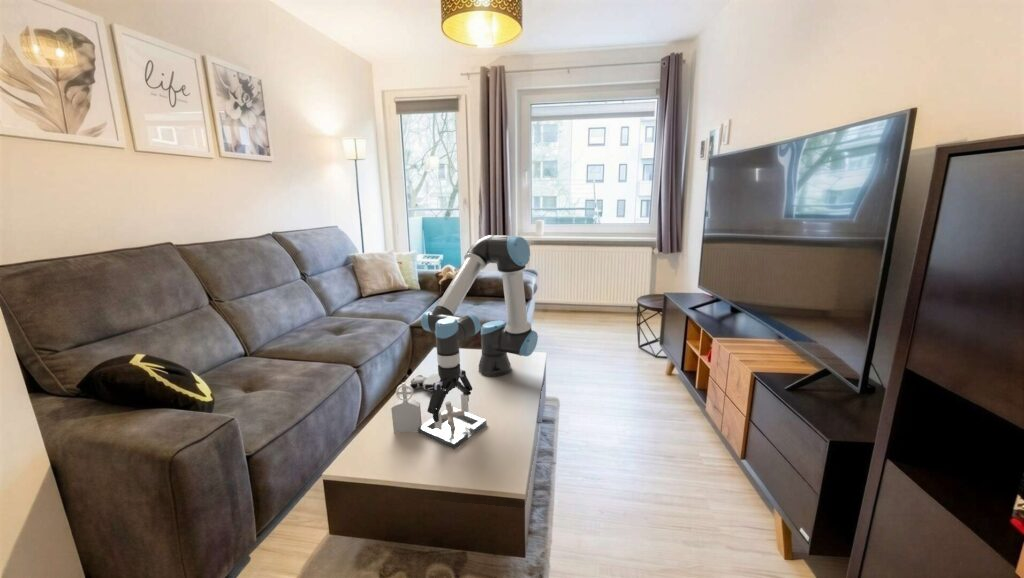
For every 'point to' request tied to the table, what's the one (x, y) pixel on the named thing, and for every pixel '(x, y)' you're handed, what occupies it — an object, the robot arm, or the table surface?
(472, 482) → the table surface
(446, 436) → the square metal tray
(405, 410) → the gravestone
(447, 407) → the pipe connector
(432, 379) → the robot toy
